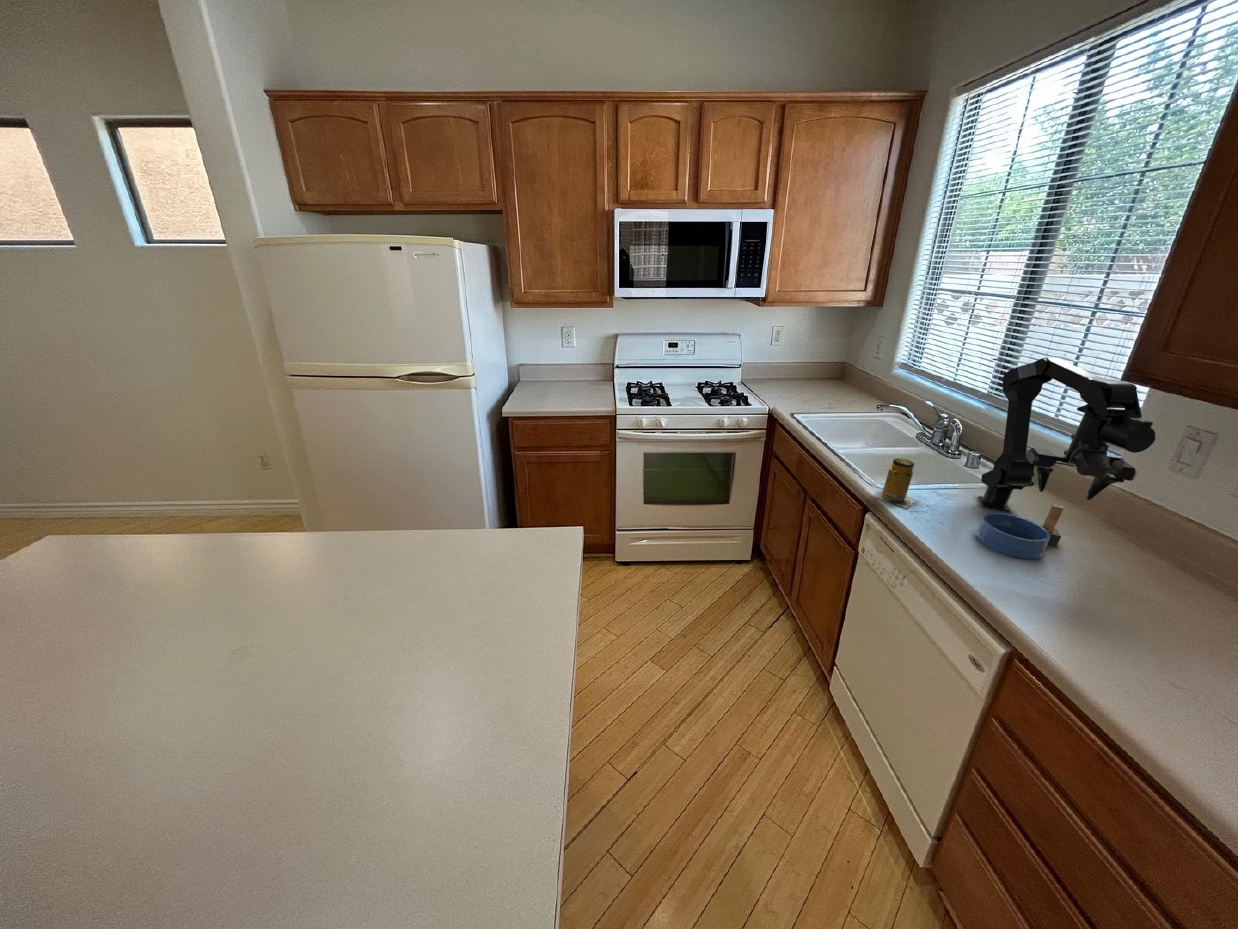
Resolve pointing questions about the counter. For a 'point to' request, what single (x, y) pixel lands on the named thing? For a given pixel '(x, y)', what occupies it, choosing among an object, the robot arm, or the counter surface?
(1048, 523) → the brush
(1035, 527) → the bowl
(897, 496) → the condiment
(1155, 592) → the counter surface
